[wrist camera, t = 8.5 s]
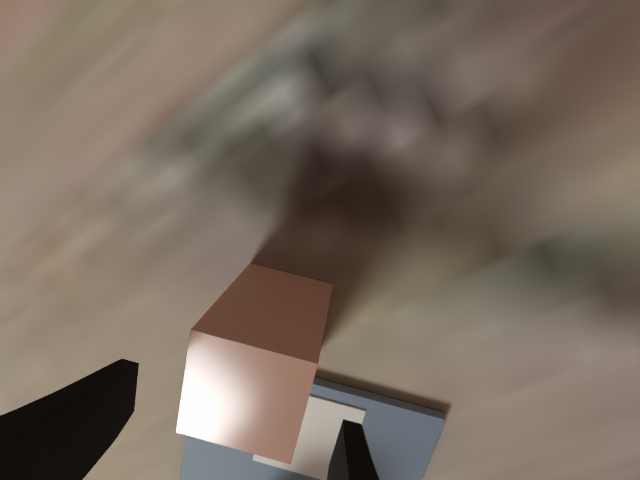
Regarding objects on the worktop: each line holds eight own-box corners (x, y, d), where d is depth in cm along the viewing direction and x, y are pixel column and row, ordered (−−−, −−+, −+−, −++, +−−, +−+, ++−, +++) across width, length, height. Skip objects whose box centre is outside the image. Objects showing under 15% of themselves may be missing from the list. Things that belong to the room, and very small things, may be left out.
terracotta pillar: (333, 284, 19) (317, 363, 12) (314, 356, 20) (290, 464, 13) (250, 262, 19) (190, 329, 12) (236, 335, 20) (175, 432, 14)
